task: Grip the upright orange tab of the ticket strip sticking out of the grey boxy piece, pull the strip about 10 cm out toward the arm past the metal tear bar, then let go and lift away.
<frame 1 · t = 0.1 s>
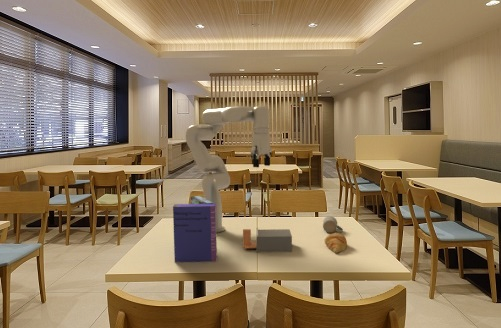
hand: (261, 166, 182), 37 cm above the table, tool pointing down, fingers open, 9 cm apart
cereal box: (196, 260, 158), on the table
ceramic mug: (332, 231, 199), on the table
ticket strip: (260, 237, 173), point 5 cm above the table, slide at 0.0 cm
gum box: (202, 247, 176), on the table
grey boxy piece: (273, 247, 173), on the table
croissant: (335, 247, 173), on the table
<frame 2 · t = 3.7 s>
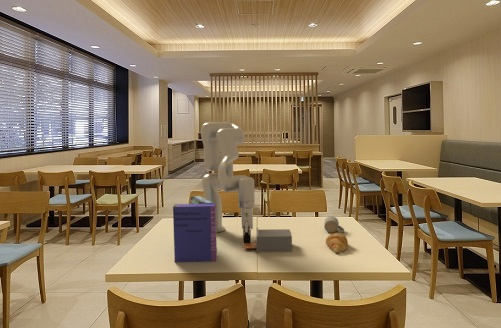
hand: (247, 242, 173), 3 cm above the table, tool pointing down, fingers closed, pressing on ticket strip
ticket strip: (260, 237, 173), point 5 cm above the table, slide at 0.0 cm, touching gripper
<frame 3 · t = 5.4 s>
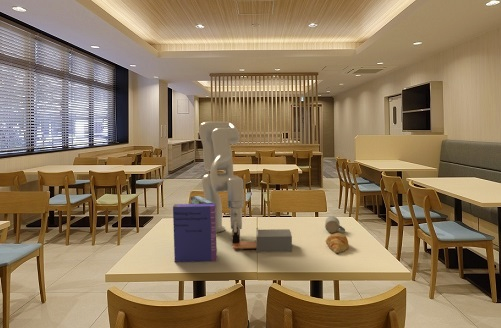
hand: (236, 242, 173), 3 cm above the table, tool pointing down, fingers closed on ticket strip
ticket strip: (249, 237, 173), point 5 cm above the table, slide at 5.1 cm, touching gripper
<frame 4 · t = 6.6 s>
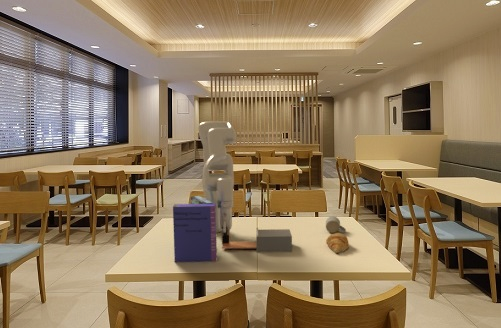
hand: (225, 242, 173), 3 cm above the table, tool pointing down, fingers closed on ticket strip
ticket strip: (239, 237, 173), point 5 cm above the table, slide at 10.0 cm, touching gripper
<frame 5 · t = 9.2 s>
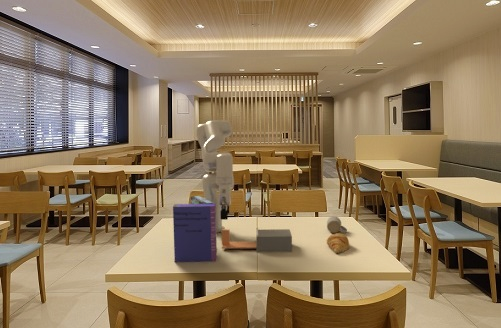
hand: (225, 216, 173), 15 cm above the table, tool pointing down, fingers open, 9 cm apart
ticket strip: (239, 237, 173), point 5 cm above the table, slide at 10.0 cm
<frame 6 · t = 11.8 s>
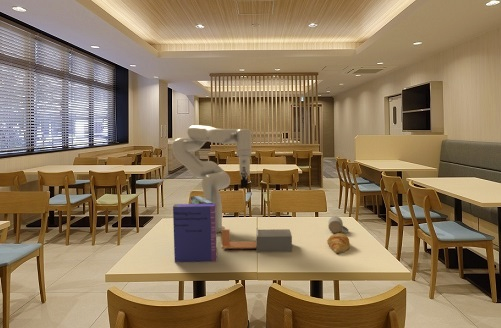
hand: (244, 186, 190), 26 cm above the table, tool pointing down, fingers open, 9 cm apart
at the end: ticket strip slide at 10.0 cm; the gripper is holding nothing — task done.
